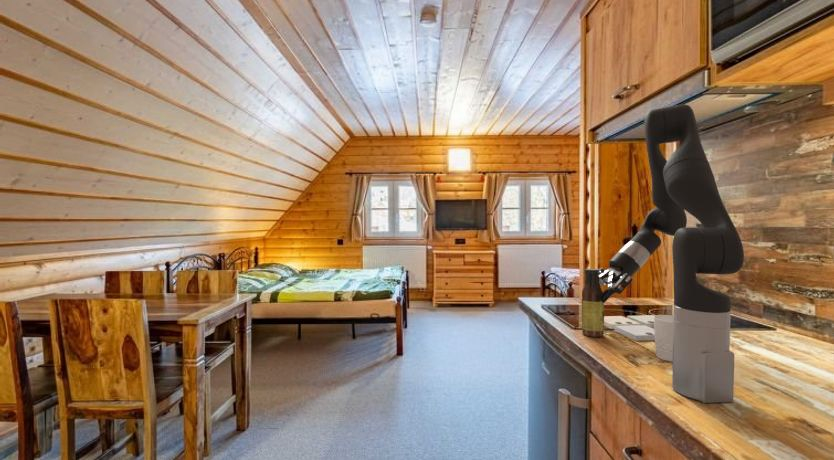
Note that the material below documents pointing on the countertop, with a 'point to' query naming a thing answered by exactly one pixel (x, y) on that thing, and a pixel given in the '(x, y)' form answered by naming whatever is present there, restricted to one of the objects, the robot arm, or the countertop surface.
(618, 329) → the tile one
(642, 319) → the tile three
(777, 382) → the countertop surface
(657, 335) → the white cup
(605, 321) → the tile two
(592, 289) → the sauce bottle
